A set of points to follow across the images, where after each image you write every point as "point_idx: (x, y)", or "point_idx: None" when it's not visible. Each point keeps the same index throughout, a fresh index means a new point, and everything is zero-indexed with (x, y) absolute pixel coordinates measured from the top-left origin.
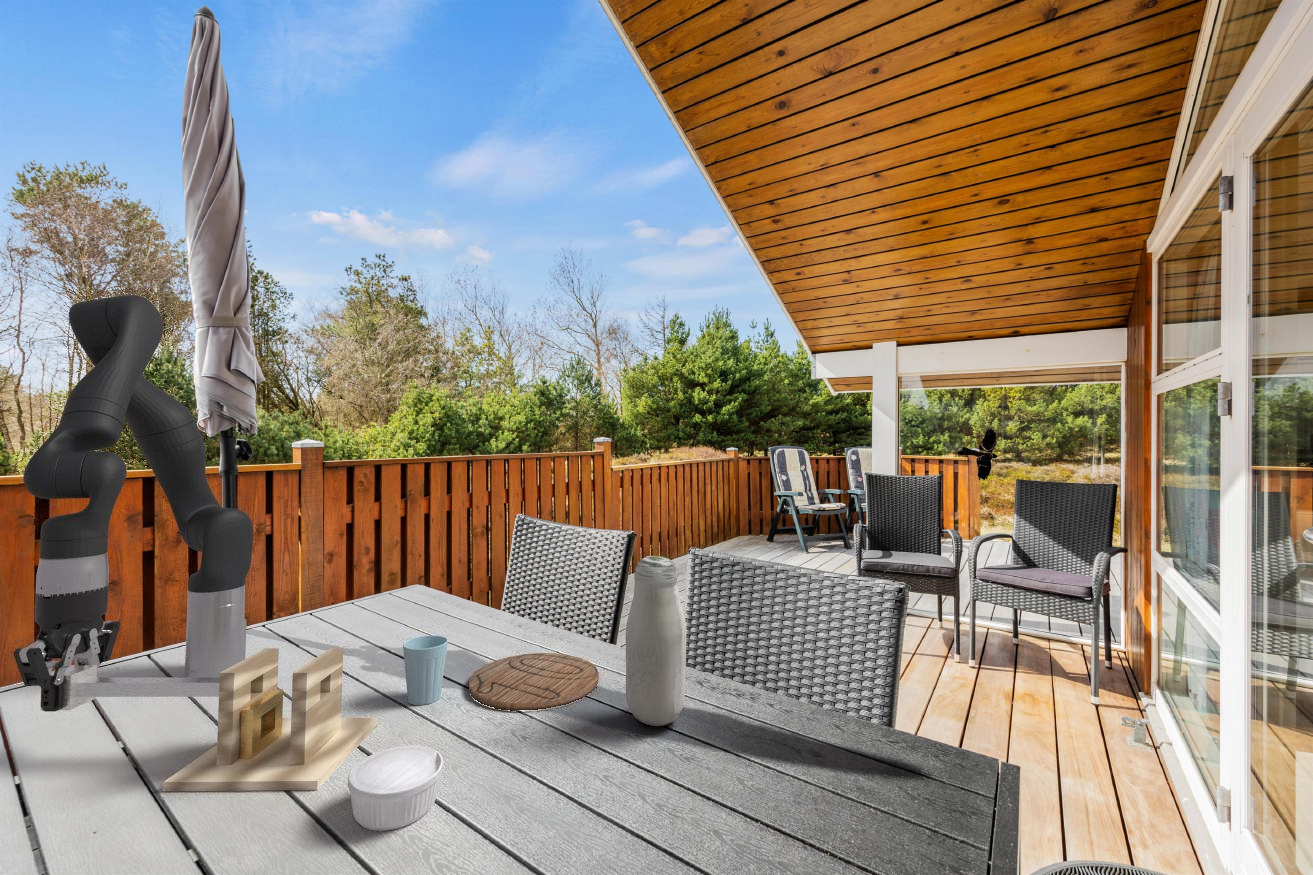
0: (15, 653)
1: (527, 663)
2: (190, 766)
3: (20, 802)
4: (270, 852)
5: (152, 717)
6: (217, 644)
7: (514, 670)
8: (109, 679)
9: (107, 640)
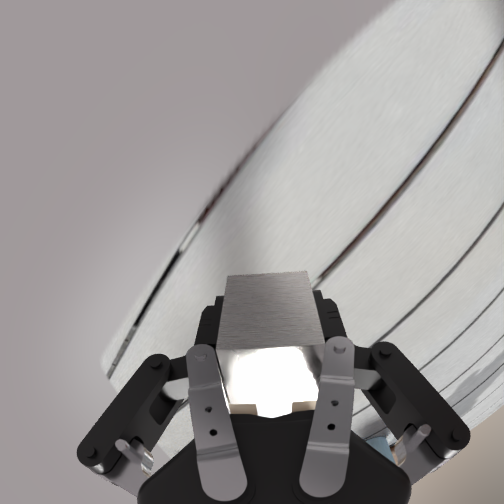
0: (81, 451)
1: None
2: (232, 406)
3: (148, 298)
4: (167, 446)
5: (403, 257)
6: None
7: (394, 459)
8: (278, 409)
9: (392, 428)
